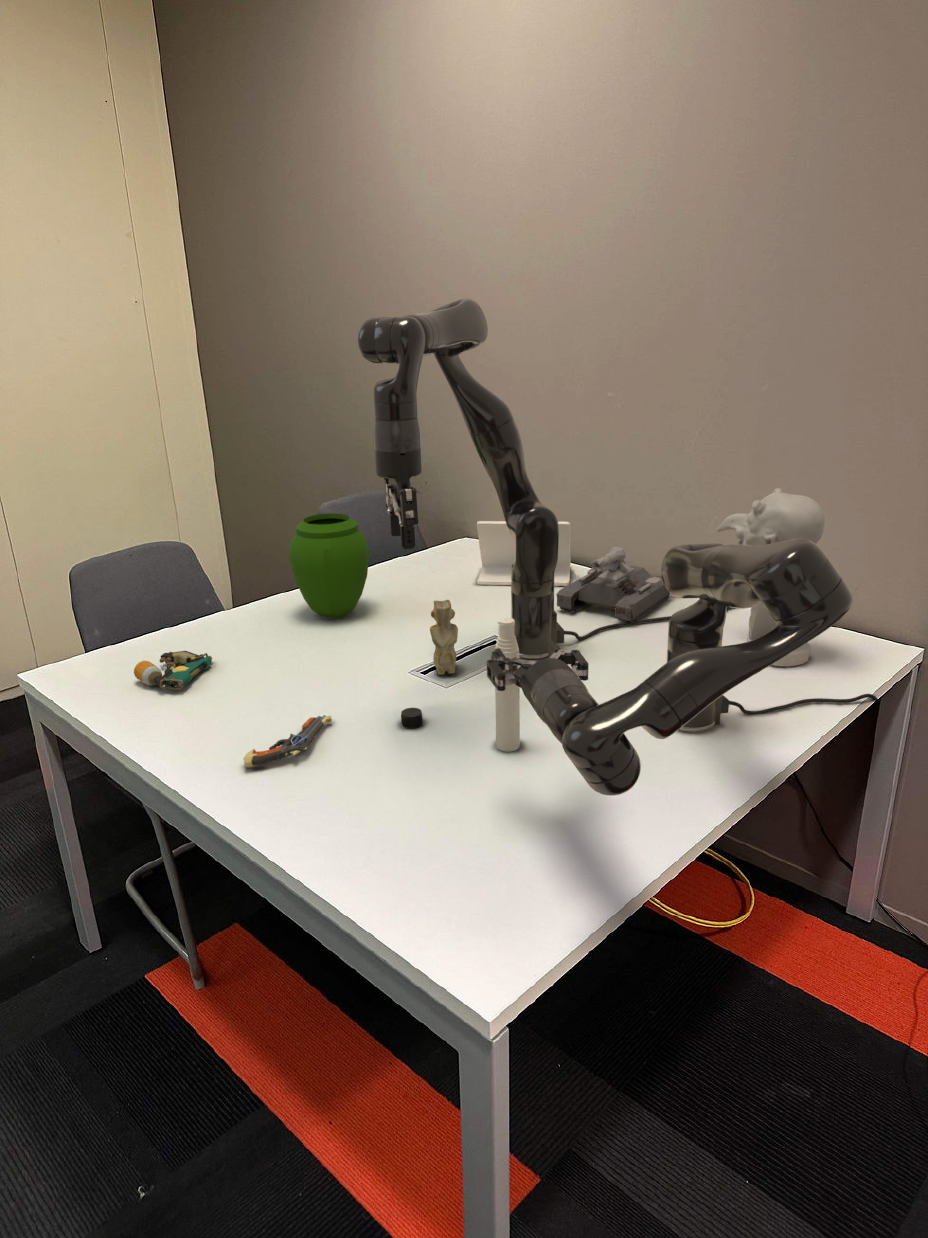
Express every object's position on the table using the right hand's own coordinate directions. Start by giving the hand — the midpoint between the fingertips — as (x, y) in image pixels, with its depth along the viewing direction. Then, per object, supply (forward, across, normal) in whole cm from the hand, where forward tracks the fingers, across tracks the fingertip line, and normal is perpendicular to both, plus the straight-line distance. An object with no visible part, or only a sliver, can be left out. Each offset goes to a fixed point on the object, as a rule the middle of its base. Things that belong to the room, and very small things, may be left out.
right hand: (523, 650), depth 131 cm
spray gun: (+58, -59, -22) cm, 86 cm away
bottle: (+10, 0, -22) cm, 25 cm away
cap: (+23, -15, -20) cm, 34 cm away
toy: (+72, +46, -22) cm, 88 cm away
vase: (+87, -24, -22) cm, 93 cm away
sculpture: (+45, -4, -22) cm, 50 cm away
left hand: (+23, -14, +12) cm, 30 cm away
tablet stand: (+102, +31, -22) cm, 109 cm away
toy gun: (+21, -37, -22) cm, 48 cm away
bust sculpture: (+36, +63, -22) cm, 76 cm away
